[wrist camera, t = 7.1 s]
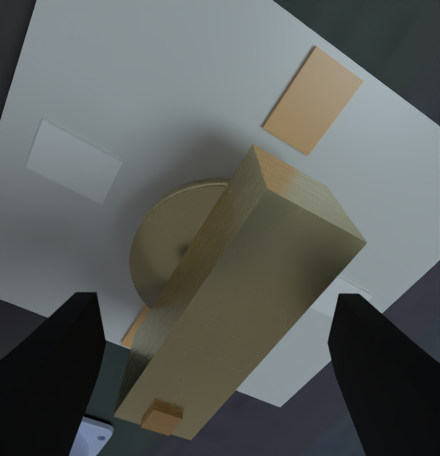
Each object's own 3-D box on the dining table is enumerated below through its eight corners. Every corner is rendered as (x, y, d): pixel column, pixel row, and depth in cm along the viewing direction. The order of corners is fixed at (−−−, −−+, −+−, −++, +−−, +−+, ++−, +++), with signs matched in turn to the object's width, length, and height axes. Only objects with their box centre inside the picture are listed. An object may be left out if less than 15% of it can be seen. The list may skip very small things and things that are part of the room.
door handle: (360, 199, 13) (427, 278, 9) (231, 356, 16) (236, 460, 12) (199, 106, 11) (192, 151, 7) (97, 304, 15) (54, 405, 11)
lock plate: (276, 388, 22) (283, 427, 20) (-32, 264, 17) (-67, 298, 15) (498, 175, 15) (544, 199, 13) (93, -127, 10) (63, -167, 8)
